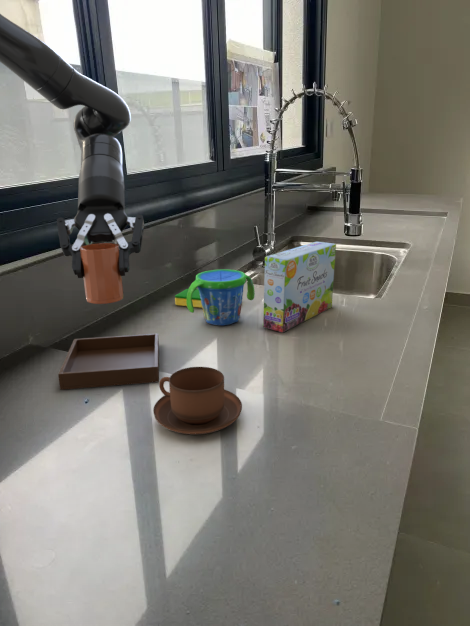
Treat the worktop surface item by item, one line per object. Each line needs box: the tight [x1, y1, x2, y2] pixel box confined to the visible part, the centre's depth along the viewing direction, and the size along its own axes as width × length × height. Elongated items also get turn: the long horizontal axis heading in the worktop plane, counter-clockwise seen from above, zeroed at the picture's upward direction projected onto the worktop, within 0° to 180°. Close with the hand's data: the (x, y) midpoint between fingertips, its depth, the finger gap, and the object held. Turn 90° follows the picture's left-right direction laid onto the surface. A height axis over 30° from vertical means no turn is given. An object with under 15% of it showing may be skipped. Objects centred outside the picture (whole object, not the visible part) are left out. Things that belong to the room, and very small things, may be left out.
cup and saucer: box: [152, 366, 243, 435], centre depth 67 cm, size 12×12×6 cm
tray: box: [57, 332, 160, 391], centre depth 85 cm, size 15×15×3 cm
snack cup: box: [186, 268, 256, 326], centre depth 105 cm, size 16×10×10 cm
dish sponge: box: [174, 287, 203, 309], centre depth 118 cm, size 7×14×2 cm, turn 69°
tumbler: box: [80, 242, 124, 305], centre depth 78 cm, size 6×6×8 cm
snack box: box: [262, 241, 337, 333], centre depth 106 cm, size 21×6×15 cm, turn 143°
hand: (101, 274), depth 77 cm, fingers closed on tumbler, 6 cm apart
